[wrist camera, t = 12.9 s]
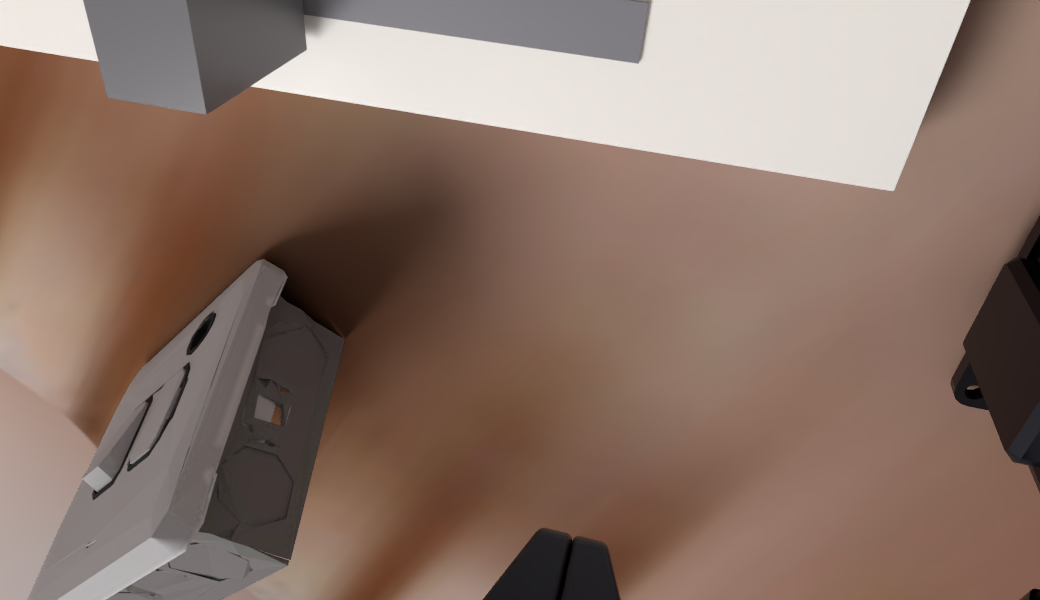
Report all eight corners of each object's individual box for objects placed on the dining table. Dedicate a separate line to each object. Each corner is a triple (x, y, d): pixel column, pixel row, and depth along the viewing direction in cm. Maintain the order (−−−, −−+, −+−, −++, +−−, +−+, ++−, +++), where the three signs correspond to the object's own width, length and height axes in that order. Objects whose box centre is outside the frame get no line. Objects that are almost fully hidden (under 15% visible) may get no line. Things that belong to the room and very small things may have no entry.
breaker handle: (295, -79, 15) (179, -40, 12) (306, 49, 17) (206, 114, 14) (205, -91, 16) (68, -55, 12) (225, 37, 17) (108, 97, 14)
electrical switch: (272, 242, 23) (92, 487, 16) (397, 345, 25) (285, 604, 18) (138, 369, 28) (-45, 599, 21) (250, 447, 30) (117, 682, 23)
